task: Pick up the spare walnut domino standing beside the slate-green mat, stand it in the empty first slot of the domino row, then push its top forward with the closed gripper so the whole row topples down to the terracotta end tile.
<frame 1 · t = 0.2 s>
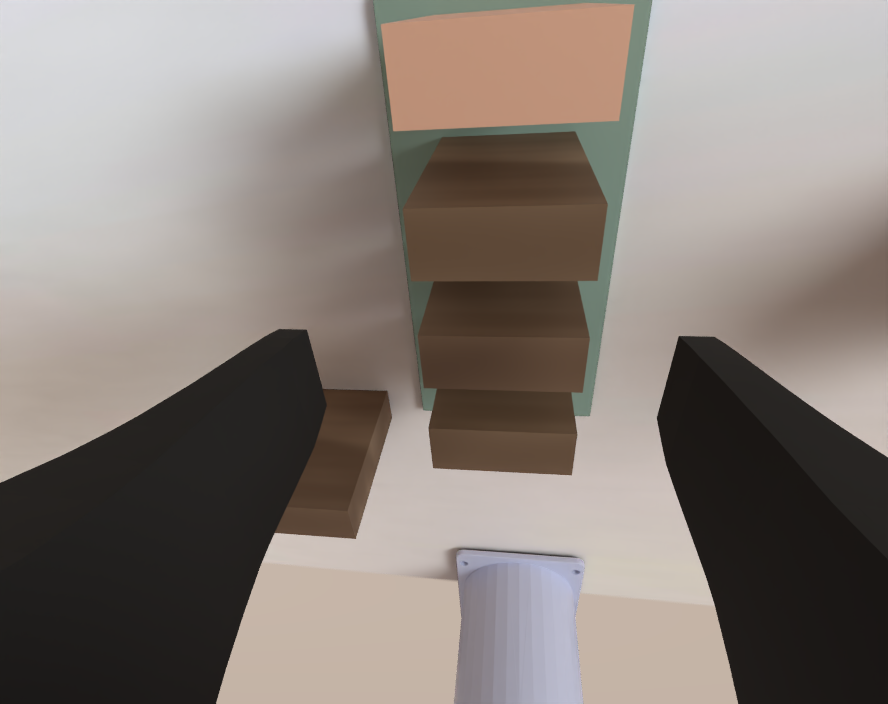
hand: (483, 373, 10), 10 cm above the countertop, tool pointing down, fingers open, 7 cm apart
domino 4: (507, 162, 17), resting on mat
mat: (506, 251, 19), on the countertop
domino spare: (347, 403, 25), on the countertop
domino 2: (505, 328, 20), resting on mat
domino end: (508, 45, 15), resting on mat
domino 3: (506, 254, 18), resting on mat
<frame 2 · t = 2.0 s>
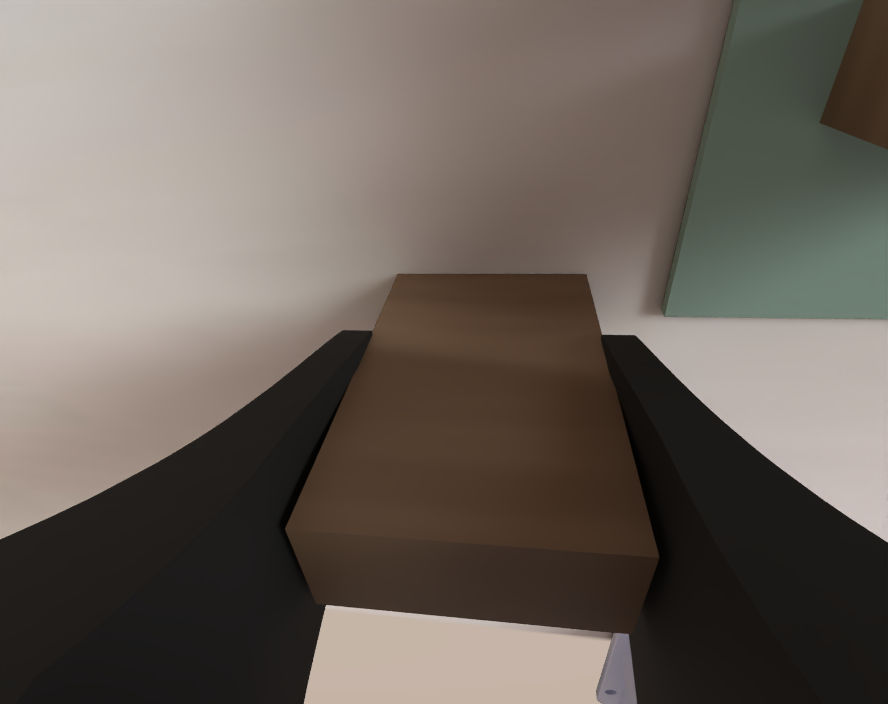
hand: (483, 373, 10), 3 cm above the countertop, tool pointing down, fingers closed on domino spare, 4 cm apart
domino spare: (489, 307, 12), on the countertop, touching gripper
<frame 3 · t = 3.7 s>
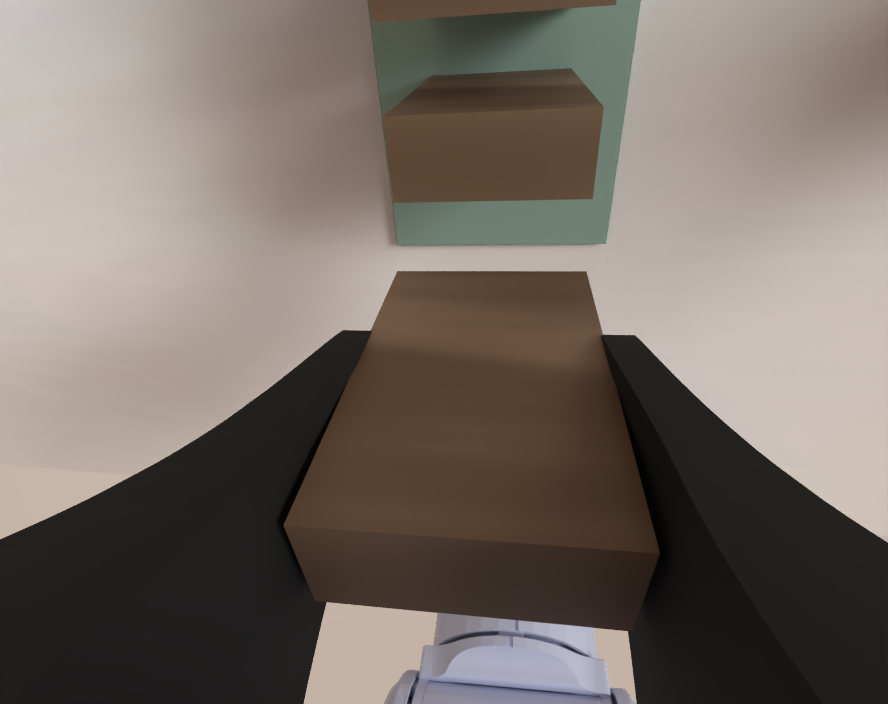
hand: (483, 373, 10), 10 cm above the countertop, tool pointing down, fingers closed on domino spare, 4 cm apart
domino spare: (489, 304, 12), point 8 cm above the countertop, touching gripper
domino 2: (499, 103, 16), resting on mat
when the fingers open (4 cm above the countertop, at t = 5.4 s): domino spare stays where it is, resting on mat.
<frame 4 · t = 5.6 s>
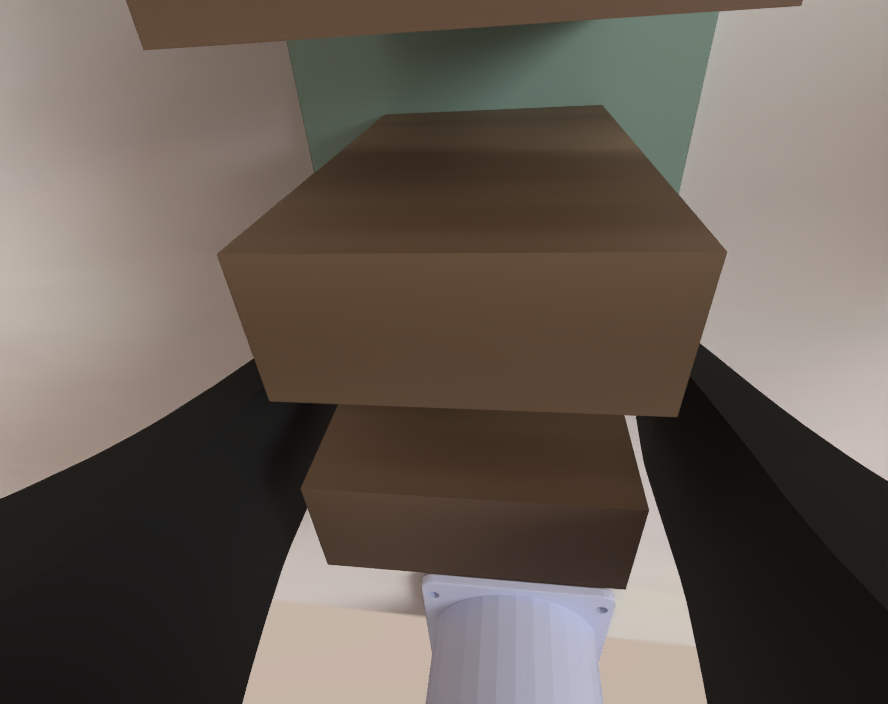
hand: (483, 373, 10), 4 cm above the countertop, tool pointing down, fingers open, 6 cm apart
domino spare: (490, 293, 12), resting on mat
domino 2: (490, 156, 10), resting on mat
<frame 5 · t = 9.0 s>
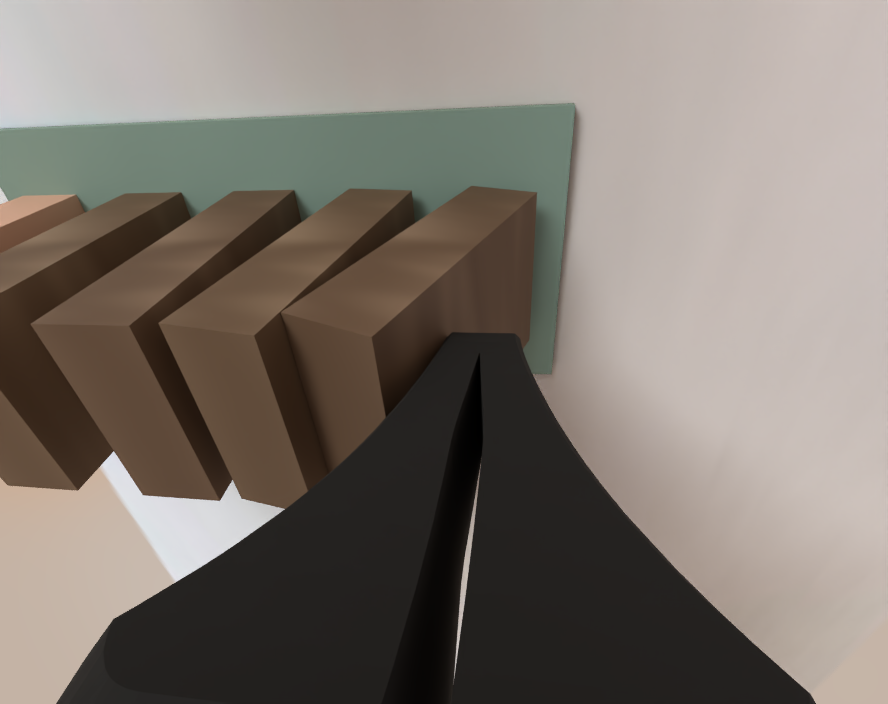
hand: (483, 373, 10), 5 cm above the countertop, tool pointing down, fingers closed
domino 4: (181, 262, 15), resting on mat
mat: (287, 258, 15), on the countertop
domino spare: (502, 267, 14), point 1 cm above the countertop, tilted 21°, touching mat
domino 2: (390, 265, 14), resting on mat, tilted 9°
domino end: (85, 263, 16), resting on mat
domino 3: (283, 262, 15), resting on mat
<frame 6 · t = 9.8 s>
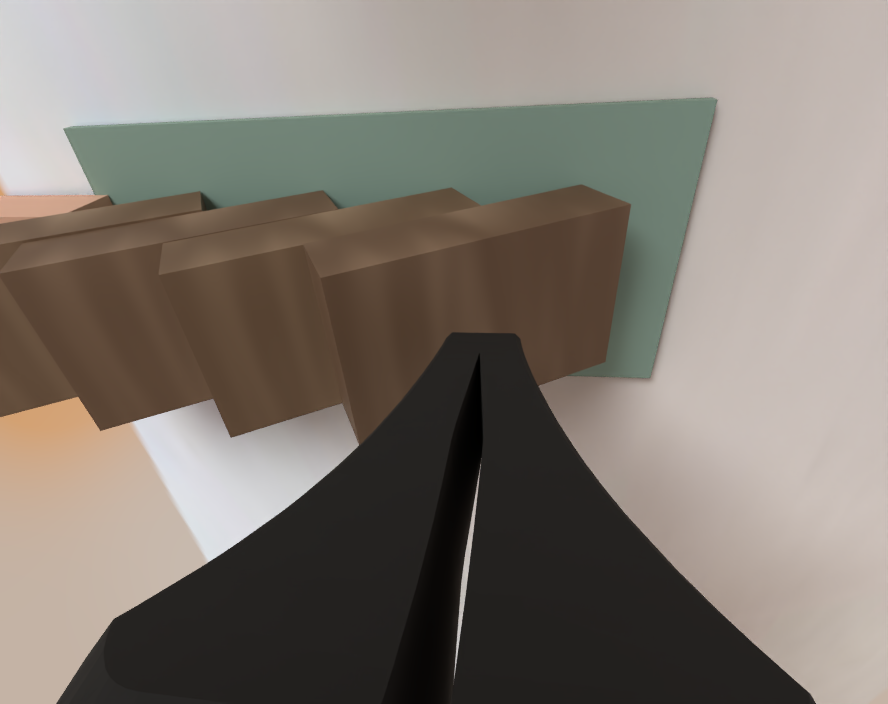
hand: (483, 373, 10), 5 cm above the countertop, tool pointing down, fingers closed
domino 4: (226, 274, 14), point 1 cm above the countertop, tilted 59°, touching domino 3, domino end
mat: (383, 259, 14), on the countertop
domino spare: (594, 277, 13), point 1 cm above the countertop, tilted 59°, touching domino 2
domino 2: (469, 276, 13), point 1 cm above the countertop, tilted 59°, touching domino 3, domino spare, mat
domino end: (120, 277, 15), point 1 cm above the countertop, tilted 93°, touching domino 4, mat
domino 3: (345, 275, 14), point 1 cm above the countertop, tilted 59°, touching domino 2, domino 4, mat
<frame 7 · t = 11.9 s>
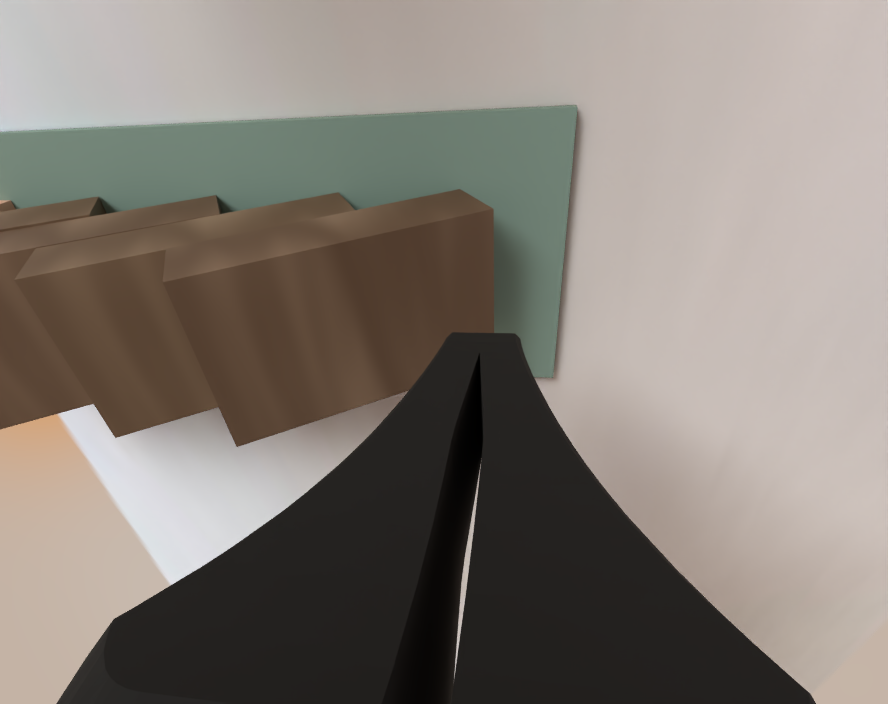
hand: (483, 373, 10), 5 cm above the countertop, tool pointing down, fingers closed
domino 4: (129, 277, 14), point 1 cm above the countertop, tilted 59°, touching domino 3, domino end
mat: (285, 262, 15), on the countertop
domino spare: (477, 279, 13), point 1 cm above the countertop, tilted 59°, touching domino 2
domino 2: (360, 278, 14), point 1 cm above the countertop, tilted 59°, touching domino 3, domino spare, mat
domino 3: (242, 278, 14), point 1 cm above the countertop, tilted 59°, touching domino 2, domino 4, mat
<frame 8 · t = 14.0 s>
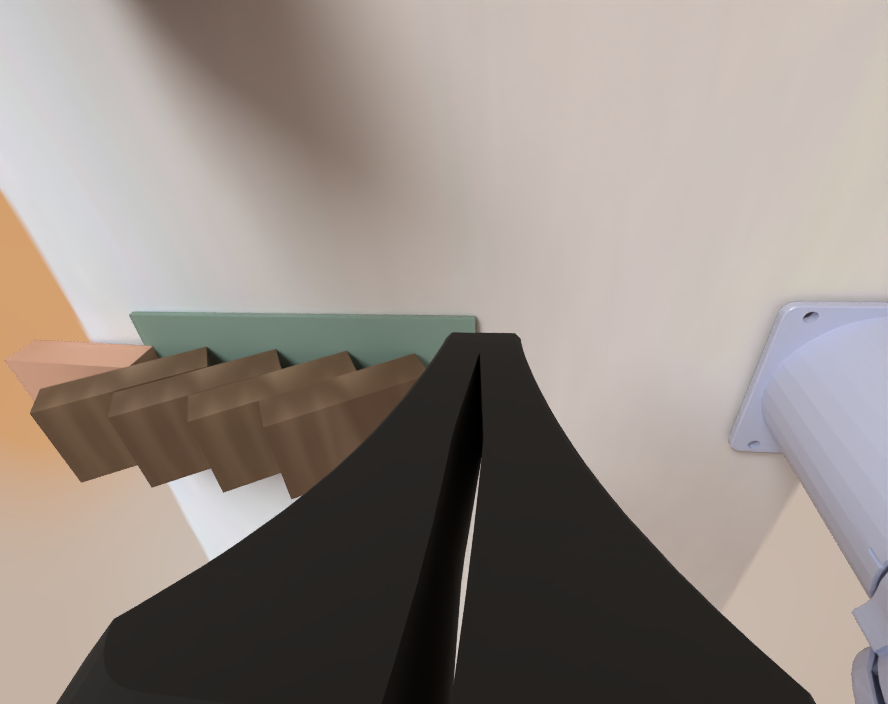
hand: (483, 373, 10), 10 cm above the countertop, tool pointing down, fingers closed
domino 4: (221, 391, 24), point 1 cm above the countertop, tilted 59°, touching domino 3, domino end
mat: (314, 381, 24), on the countertop
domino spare: (426, 400, 23), point 1 cm above the countertop, tilted 59°, touching domino 2
domino 2: (359, 397, 23), point 1 cm above the countertop, tilted 59°, touching domino 3, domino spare, mat
domino end: (158, 391, 25), point 1 cm above the countertop, tilted 93°, touching domino 4, mat
domino 3: (289, 394, 24), point 1 cm above the countertop, tilted 59°, touching domino 2, domino 4, mat
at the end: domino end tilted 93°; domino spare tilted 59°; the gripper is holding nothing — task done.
